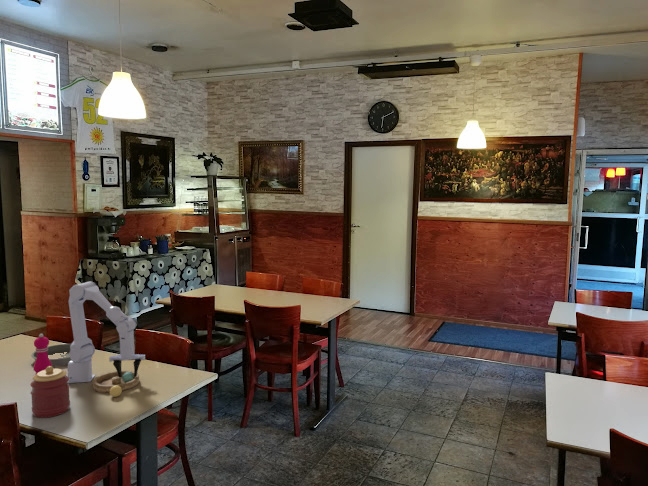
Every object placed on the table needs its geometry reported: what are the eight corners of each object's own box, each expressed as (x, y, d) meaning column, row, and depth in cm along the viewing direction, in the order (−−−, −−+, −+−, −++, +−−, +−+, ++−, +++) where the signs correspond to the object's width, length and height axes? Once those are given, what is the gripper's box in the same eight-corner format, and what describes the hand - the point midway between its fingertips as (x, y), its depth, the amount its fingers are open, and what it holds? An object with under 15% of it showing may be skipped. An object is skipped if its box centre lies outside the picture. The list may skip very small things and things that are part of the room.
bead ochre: (108, 399, 201) (108, 388, 200) (111, 394, 205) (111, 383, 205) (120, 398, 201) (120, 387, 201) (123, 393, 206) (122, 383, 205)
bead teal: (121, 384, 214) (120, 374, 214) (124, 380, 219) (123, 370, 218) (132, 384, 215) (131, 374, 214) (134, 380, 219) (134, 370, 219)
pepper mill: (55, 374, 227) (53, 331, 225) (45, 379, 220) (43, 336, 218) (41, 373, 228) (39, 331, 226) (30, 379, 221) (28, 335, 219)
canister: (61, 400, 199) (59, 358, 197) (76, 409, 190) (74, 365, 189) (26, 411, 189) (23, 366, 187) (40, 421, 180) (37, 375, 179)
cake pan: (20, 362, 242) (20, 353, 242) (67, 349, 264) (66, 340, 264) (52, 371, 231) (51, 362, 231) (97, 356, 253) (97, 348, 252)
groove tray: (87, 393, 206) (87, 387, 205) (100, 377, 224) (100, 371, 223) (133, 391, 208) (133, 385, 208) (142, 375, 227) (142, 369, 226)
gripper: (107, 349, 210) (108, 380, 211) (142, 348, 212) (143, 378, 214) (111, 344, 217) (112, 374, 218) (145, 343, 219) (146, 372, 221)
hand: (127, 376), depth 216 cm, fingers open, 6 cm apart
